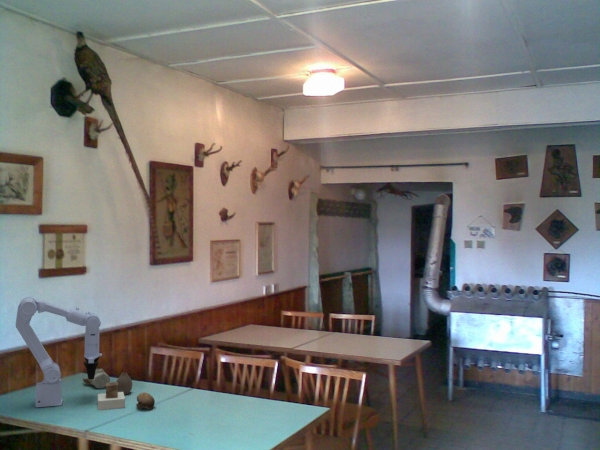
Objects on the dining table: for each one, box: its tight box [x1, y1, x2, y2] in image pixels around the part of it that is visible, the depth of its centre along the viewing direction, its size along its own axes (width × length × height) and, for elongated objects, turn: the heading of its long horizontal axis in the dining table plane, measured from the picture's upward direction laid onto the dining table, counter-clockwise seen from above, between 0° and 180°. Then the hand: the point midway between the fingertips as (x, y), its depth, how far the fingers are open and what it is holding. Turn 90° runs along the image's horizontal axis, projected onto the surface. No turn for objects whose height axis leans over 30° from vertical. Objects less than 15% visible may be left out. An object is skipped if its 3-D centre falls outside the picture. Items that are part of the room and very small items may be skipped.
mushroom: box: [135, 392, 155, 410], centre depth 230 cm, size 8×8×6 cm
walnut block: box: [105, 381, 118, 398], centre depth 233 cm, size 4×4×5 cm
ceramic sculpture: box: [82, 366, 111, 389], centre depth 260 cm, size 11×9×15 cm
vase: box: [115, 372, 133, 396], centre depth 249 cm, size 7×7×9 cm
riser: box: [97, 392, 126, 411], centre depth 233 cm, size 10×10×4 cm
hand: (91, 376), depth 240 cm, fingers open, 7 cm apart
